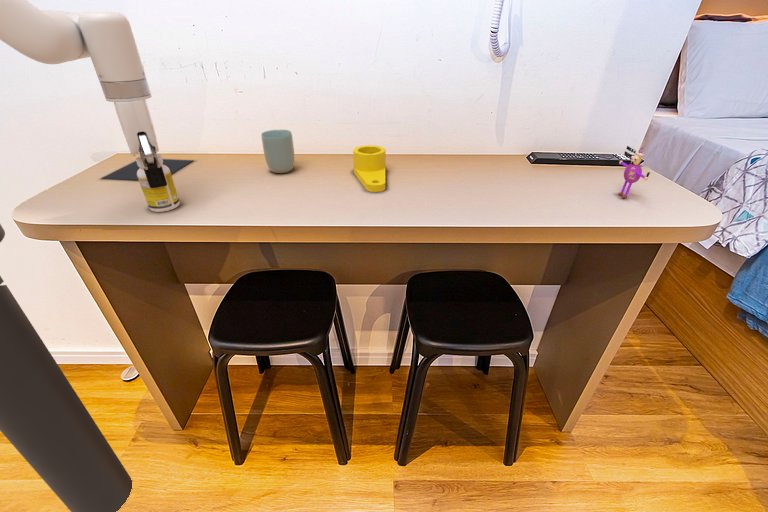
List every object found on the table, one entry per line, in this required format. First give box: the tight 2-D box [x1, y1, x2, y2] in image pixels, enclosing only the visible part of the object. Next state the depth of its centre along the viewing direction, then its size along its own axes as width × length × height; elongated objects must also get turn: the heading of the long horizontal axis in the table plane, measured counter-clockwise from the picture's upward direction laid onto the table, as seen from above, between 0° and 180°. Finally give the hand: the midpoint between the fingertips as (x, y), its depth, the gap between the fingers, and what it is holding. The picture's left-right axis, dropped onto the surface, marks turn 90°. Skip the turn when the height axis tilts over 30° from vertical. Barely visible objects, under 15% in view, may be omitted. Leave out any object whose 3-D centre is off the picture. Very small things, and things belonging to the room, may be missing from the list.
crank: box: [352, 144, 386, 193], centre depth 98 cm, size 18×8×6 cm, turn 9°
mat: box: [100, 158, 194, 182], centre depth 105 cm, size 16×16×1 cm
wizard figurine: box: [617, 145, 651, 199], centre depth 87 cm, size 11×3×12 cm, turn 0°
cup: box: [260, 129, 296, 174], centre depth 101 cm, size 8×8×10 cm
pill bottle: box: [135, 153, 180, 213], centre depth 82 cm, size 6×6×11 cm
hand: (156, 180), depth 81 cm, fingers closed on pill bottle, 6 cm apart
